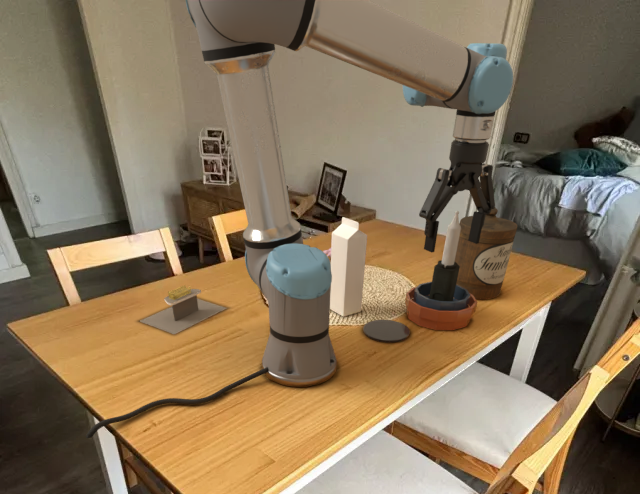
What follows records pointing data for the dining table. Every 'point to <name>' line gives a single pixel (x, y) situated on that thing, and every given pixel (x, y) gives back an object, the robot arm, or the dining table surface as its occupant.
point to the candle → (447, 265)
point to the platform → (182, 311)
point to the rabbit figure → (328, 252)
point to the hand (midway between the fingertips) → (451, 246)
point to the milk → (347, 267)
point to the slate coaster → (386, 331)
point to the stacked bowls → (439, 308)
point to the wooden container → (484, 255)
